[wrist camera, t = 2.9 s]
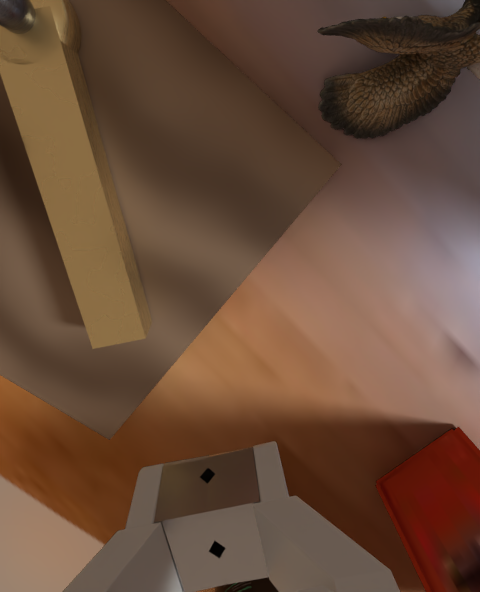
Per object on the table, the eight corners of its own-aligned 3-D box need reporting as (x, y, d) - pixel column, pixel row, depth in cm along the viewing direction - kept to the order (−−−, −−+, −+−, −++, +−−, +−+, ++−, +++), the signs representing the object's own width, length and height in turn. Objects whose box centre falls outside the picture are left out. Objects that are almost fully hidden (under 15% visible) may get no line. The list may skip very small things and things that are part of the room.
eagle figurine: (432, -96, 20) (285, 9, 20) (582, -100, 15) (394, 37, 15) (432, 58, 26) (319, 141, 25) (541, 88, 21) (405, 191, 21)
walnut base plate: (-3, -149, 19) (-21, -173, 18) (334, 164, 24) (341, 164, 23) (-204, 233, 24) (-230, 238, 23) (114, 426, 29) (109, 440, 28)
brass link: (-16, -10, 19) (-97, -69, 14) (66, -27, 19) (14, -92, 14) (96, 332, 25) (66, 375, 20) (160, 320, 25) (146, 360, 20)
